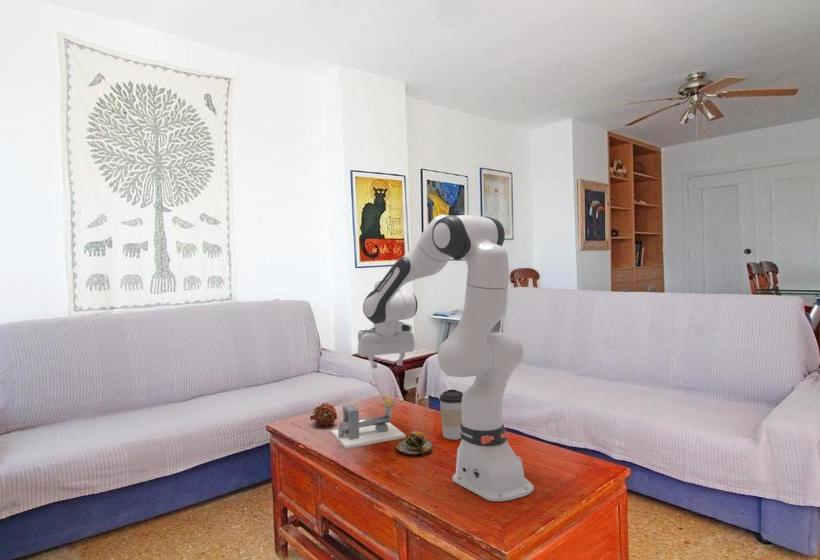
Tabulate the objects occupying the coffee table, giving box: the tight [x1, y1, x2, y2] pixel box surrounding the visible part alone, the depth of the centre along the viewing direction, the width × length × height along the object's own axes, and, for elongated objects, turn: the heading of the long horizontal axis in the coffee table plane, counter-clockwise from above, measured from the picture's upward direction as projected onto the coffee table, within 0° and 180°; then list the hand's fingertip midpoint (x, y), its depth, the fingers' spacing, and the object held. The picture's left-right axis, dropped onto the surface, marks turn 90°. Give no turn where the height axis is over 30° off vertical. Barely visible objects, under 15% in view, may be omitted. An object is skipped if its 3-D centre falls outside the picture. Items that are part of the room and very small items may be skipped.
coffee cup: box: [438, 389, 464, 440], centre depth 166 cm, size 9×9×15 cm
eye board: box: [331, 403, 407, 450], centre depth 168 cm, size 21×16×10 cm
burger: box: [394, 425, 434, 457], centre depth 154 cm, size 12×12×8 cm
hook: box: [337, 395, 395, 436], centre depth 167 cm, size 19×6×10 cm, turn 115°
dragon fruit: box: [309, 402, 338, 427], centre depth 180 cm, size 8×8×12 cm
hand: (387, 366), depth 170 cm, fingers open, 8 cm apart
